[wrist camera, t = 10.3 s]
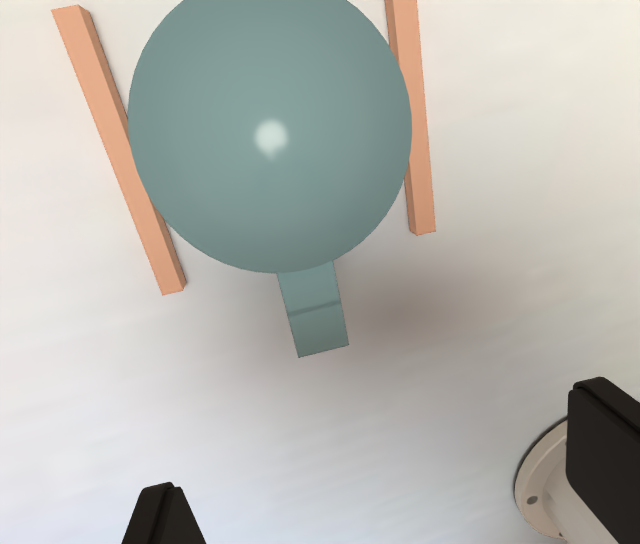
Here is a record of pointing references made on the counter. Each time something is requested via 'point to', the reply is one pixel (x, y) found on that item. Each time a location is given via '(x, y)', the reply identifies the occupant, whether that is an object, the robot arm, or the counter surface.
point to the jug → (273, 141)
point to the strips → (116, 141)
